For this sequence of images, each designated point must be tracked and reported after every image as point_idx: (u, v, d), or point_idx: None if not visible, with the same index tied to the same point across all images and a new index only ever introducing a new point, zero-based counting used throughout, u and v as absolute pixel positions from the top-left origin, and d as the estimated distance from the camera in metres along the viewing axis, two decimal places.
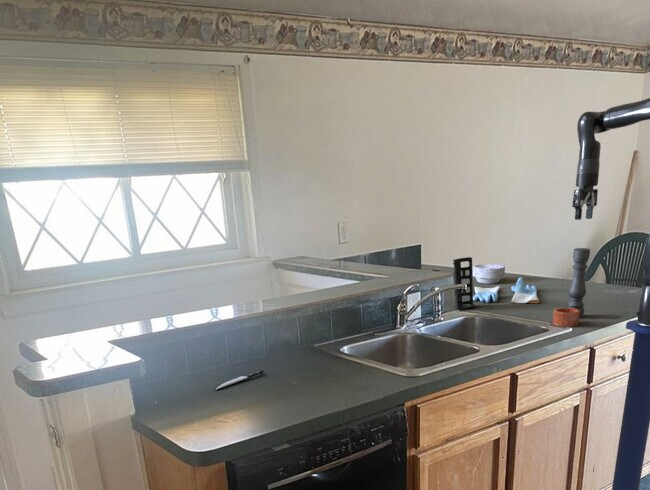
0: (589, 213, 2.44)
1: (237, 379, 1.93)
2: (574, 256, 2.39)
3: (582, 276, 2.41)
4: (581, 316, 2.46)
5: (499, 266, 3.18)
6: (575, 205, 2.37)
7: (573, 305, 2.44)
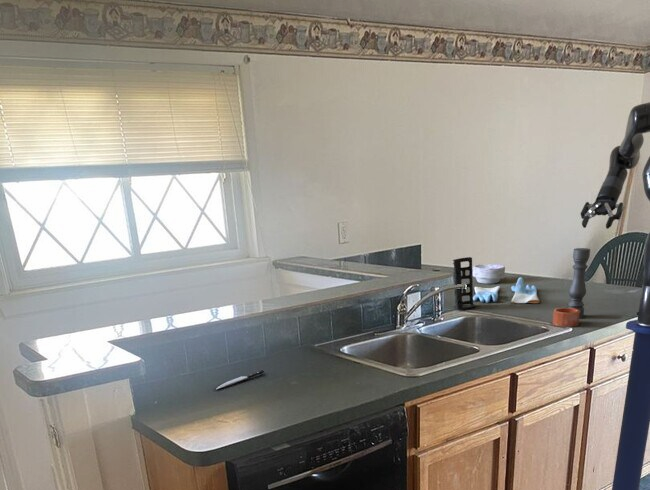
0: None
1: (237, 379, 1.93)
2: (574, 256, 2.39)
3: (582, 276, 2.41)
4: (581, 316, 2.46)
5: (499, 266, 3.18)
6: None
7: (573, 305, 2.44)
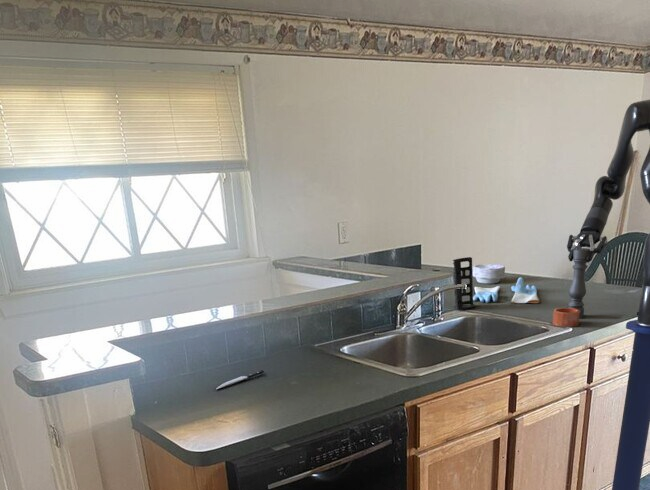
0: None
1: (237, 379, 1.93)
2: (574, 256, 2.39)
3: (582, 276, 2.41)
4: (581, 316, 2.46)
5: (499, 266, 3.18)
6: None
7: (573, 305, 2.44)
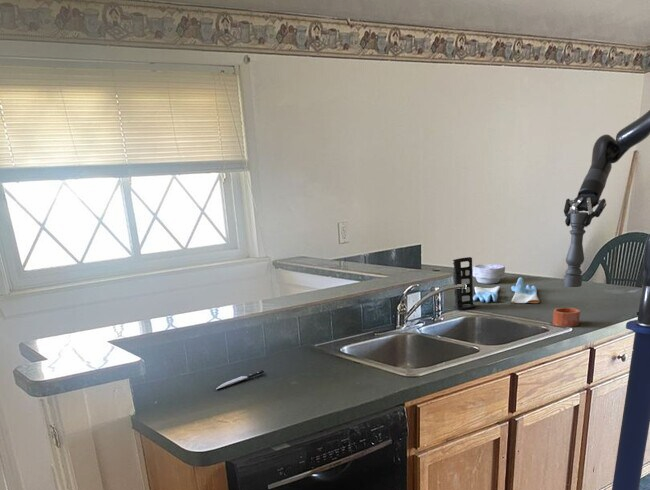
0: None
1: (237, 379, 1.93)
2: (571, 220, 2.27)
3: (580, 241, 2.29)
4: (579, 284, 2.34)
5: (499, 266, 3.18)
6: None
7: (571, 273, 2.32)
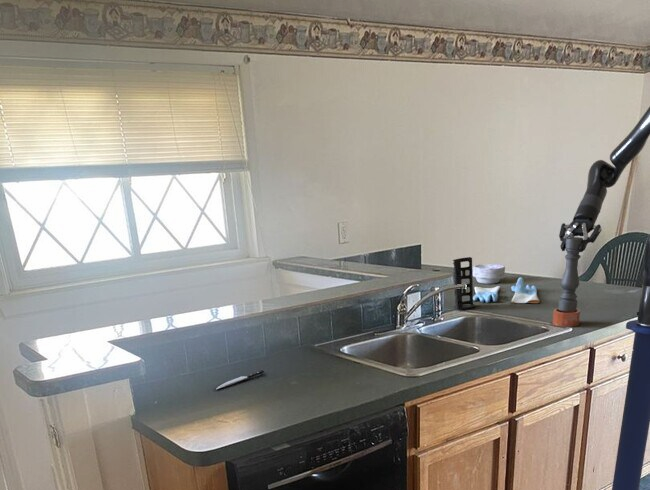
0: None
1: (237, 379, 1.93)
2: (566, 245, 2.28)
3: (575, 266, 2.29)
4: (574, 309, 2.35)
5: (499, 266, 3.18)
6: None
7: (565, 297, 2.33)
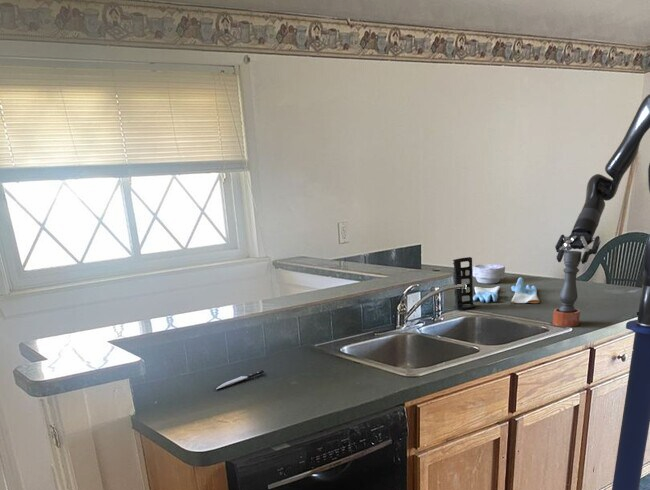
0: None
1: (237, 379, 1.93)
2: (565, 259, 2.30)
3: (573, 280, 2.31)
4: None
5: (499, 266, 3.18)
6: None
7: (564, 310, 2.35)
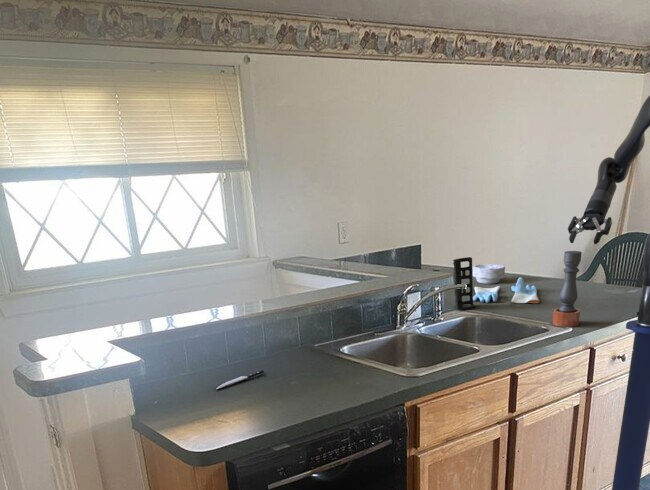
0: None
1: (237, 379, 1.93)
2: (565, 259, 2.30)
3: (573, 280, 2.31)
4: None
5: (499, 266, 3.18)
6: None
7: (564, 310, 2.35)
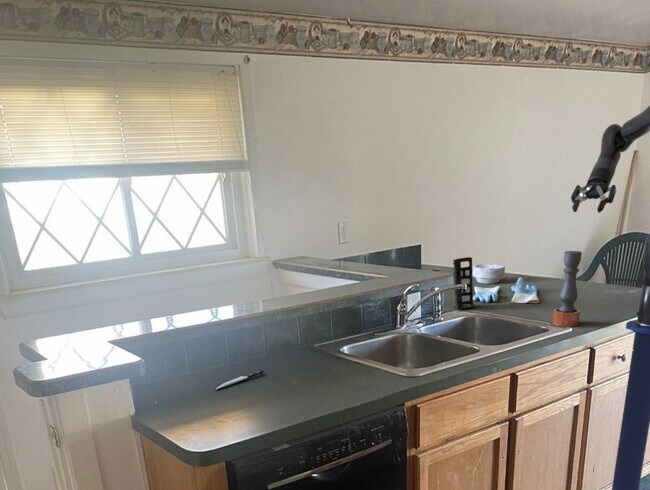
0: None
1: (237, 379, 1.93)
2: (565, 259, 2.30)
3: (573, 280, 2.31)
4: None
5: (499, 266, 3.18)
6: None
7: (564, 310, 2.35)
